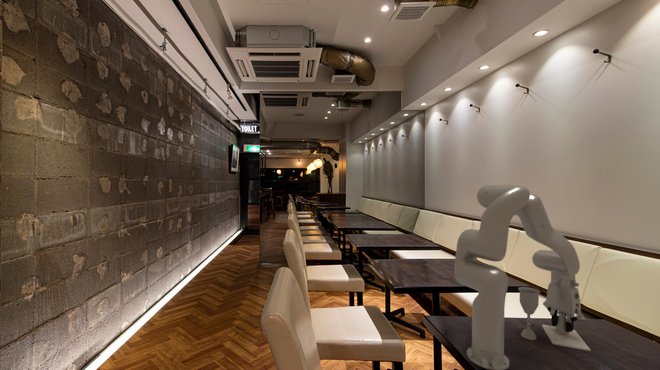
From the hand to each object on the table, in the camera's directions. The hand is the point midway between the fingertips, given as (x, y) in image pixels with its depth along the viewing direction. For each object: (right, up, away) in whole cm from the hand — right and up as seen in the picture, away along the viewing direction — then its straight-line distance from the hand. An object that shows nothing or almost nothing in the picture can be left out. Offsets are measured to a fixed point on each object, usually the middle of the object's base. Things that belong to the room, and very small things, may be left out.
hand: (562, 328), depth 117 cm
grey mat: (-1, -3, -2) cm, 3 cm away
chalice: (-14, -3, -1) cm, 14 cm away
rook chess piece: (0, -2, 0) cm, 2 cm away
